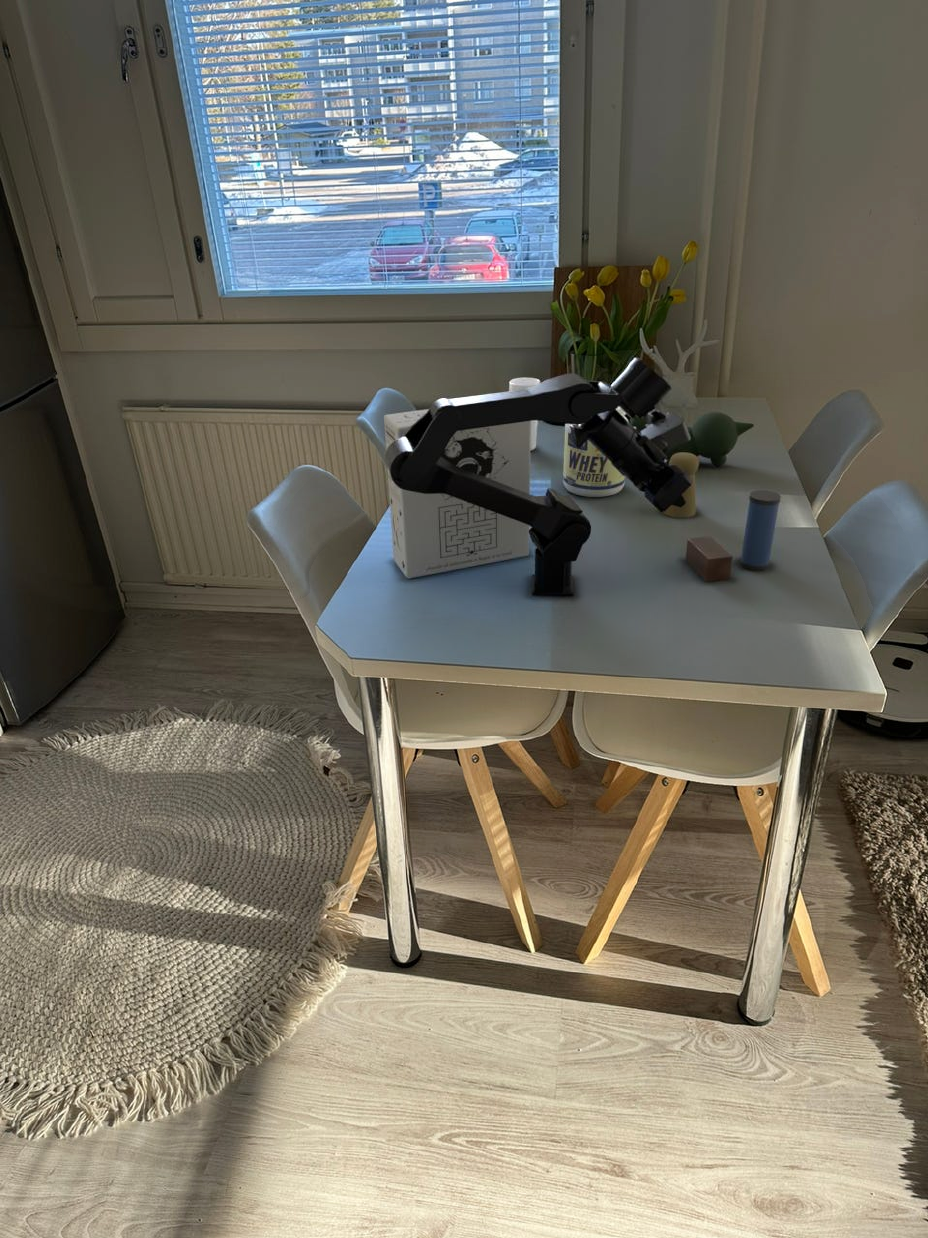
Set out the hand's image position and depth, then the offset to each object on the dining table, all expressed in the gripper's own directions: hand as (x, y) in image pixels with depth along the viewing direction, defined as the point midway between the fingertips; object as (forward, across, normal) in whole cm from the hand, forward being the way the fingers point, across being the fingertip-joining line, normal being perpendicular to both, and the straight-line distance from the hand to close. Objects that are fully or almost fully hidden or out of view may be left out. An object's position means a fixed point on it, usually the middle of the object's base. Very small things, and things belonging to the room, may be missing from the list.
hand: (682, 504), depth 135 cm
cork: (+16, +24, +1) cm, 29 cm away
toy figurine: (+24, +48, -7) cm, 54 cm away
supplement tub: (+8, +39, +9) cm, 41 cm away
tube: (+14, 0, -5) cm, 15 cm away
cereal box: (-15, +14, +31) cm, 37 cm away
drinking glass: (+3, +66, +14) cm, 68 cm away
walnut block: (+12, 0, +5) cm, 13 cm away
